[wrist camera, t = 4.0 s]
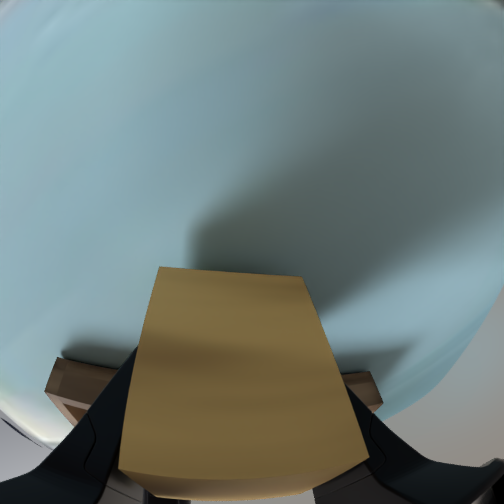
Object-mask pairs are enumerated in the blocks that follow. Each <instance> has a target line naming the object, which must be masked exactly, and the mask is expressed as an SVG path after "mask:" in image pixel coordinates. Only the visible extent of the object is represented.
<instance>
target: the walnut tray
mask: <svg viewBox="0 0 504 504" xmlns="http://www.w3.org/2000/svg"><path fill="white" fill-rule="evenodd" d="M117 371H118V370H115V369H109V368H104V367H99V366H94V365H89V364H84V363H80V362H75V361H71V360H67V359H63V358H59V357H57V359H56V361H55V364H54V366H53V369H52V371H51V374H50V377H49V380H48V382H47V385H46V388H45V391H44V392H45V393H46V394H47V396H48V397H49V398H50V400H51V401H52V402H53V403H54V404H55V406H56V407H57V408H58V409H59V410H60V412H61V413H62V414H63V415H64V416H65V417H66V418H67V419H68V421H69V422H70V423H71V424H72V425H73V426H74V427H75V426H76V425H77V423H78V422H79V421H80V419H81V418H82V417H83V415H84V414H85V413H87V410H88V409H89V407H90V406H91V405H92V404H93V402H94V401H95V400H96V398H97V397H98V396H99V394H100V393H101V392H102V390H103V389H104V388H105V386H106V385H107V384H108V383H109V381H110V380H111V379H112V377H113V376H114V375H115V374H116V372H117ZM341 377H342V380H343V382H344V383H345V384H346V385H347V386H348V387H349V388H350V389H351V390H352V391H353V392H354V393H355V394H356V395H357V396H358V397H359V398H360V400H361V401H362V402H363V403H364V404H365V405H366V406H367V407H368V408H369V409H370V410H371V411H372V413H374V412H375V411H376V410H377V409H378V408H379V407H380V406H381V405H382V404H383V400H382V398H381V396H380V393H379V391H378V389H377V386H376V384H375V382H374V379H373V377H372V375H371V373H370V371H367V372H361V373H353V374H346V375H341Z"/></svg>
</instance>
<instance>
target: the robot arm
mask: <svg viewBox="0 0 504 504" xmlns="http://www.w3.org/2000/svg"><path fill="white" fill-rule="evenodd" d="M138 345H139V344H138ZM137 349H138V346H137V347H136V348H135V349H134V351H133V352H132V353H131V354H130V356H129V357H128V358H127V360H126V361H125V362H124V363H123V365H122V366H121V367H120V368H119V370H118V371H117V372H116V374H115V375H114V376H113V377H112V379H111V380H110V381H109V383H108V384H107V385H106V386H105V388H104V389H103V390H102V392H101V393H100V394H99V396H98V397H97V398H96V400H95V401H94V402H93V404H92V405H91V406H90V407H89V409H88V410H87V413H85V414H84V415H83V417H82V418H81V419H80V421H79V422H78V423H77V425H76V426H75V427H74V428H73V430H72V431H71V432H70V433H69V434H68V435H67V436H66V438H65V439H64V440H63V441H62V442H61V443H60V444H59V445H58V446H57V447H56V448H55V449H54V450H53V451H52V452H51V453H50V454H49V456H47V457H46V458H45V459H44V461H43V462H42V463H41V464H40V465H39V466H37V467H36V468H35V469H33V470H32V471H30V472H28V473H26V474H24V475H21V476H18V477H15V478H12V479H9V480H6V481H3V482H0V504H191V500H182V499H171V498H162V497H156V496H155V495H153V494H152V493H150V492H149V491H147V490H146V489H144V488H143V487H141V486H140V485H139V484H137V483H136V482H135V481H133V480H132V479H131V478H129V477H128V476H127V475H125V474H124V473H123V472H122V471H120V470H119V469H118V466H119V456H120V447H121V439H122V431H123V424H124V418H125V411H126V405H127V399H128V394H129V388H130V383H131V378H132V373H133V368H134V363H135V359H136V354H137ZM344 385H345V388H346V391H347V393H348V396H349V399H350V402H351V404H352V407H353V410H354V413H355V416H356V419H357V422H358V425H359V427H360V430H361V433H362V436H363V439H364V442H365V445H366V448H367V451H368V454H369V458H367V459H366V460H364V461H362V462H361V463H359V464H357V465H356V466H354V467H352V468H351V469H349V470H347V471H345V472H344V473H342V474H340V475H338V476H336V477H334V478H332V479H331V480H329V481H327V482H325V483H323V484H321V485H318V486H316V487H314V488H312V489H313V494H314V498H315V503H316V504H504V459H499V458H494V459H492V460H490V461H488V462H487V463H485V464H483V465H482V466H480V467H470V466H461V465H454V464H447V463H442V462H436V461H433V460H430V459H428V458H426V457H424V456H422V455H421V454H420V453H418V452H417V451H416V450H414V449H413V448H412V447H411V446H409V445H408V444H407V443H406V442H404V441H403V440H402V439H401V438H399V437H398V436H397V435H396V434H395V433H394V432H392V431H391V430H390V429H389V428H388V427H387V426H386V425H385V424H384V423H383V422H382V421H381V420H380V419H379V418H378V417H377V416H376V415H375V414H374V413H372V411H371V410H370V409H369V408H368V407H367V406H366V405H365V404H364V403H363V402H362V401H361V400H360V398H359V397H358V396H357V395H356V394H355V393H354V392H353V391H352V390H351V389H350V388H349V387H348V386H347V385H346V384H345V383H344Z"/></svg>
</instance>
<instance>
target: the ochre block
mask: <svg viewBox="0 0 504 504" xmlns="http://www.w3.org/2000/svg"><path fill="white" fill-rule="evenodd" d="M367 458H369V454H368V451H367V448H366V445H365V442H364V439H363V436H362V433H361V430H360V427H359V425H358V422H357V419H356V416H355V413H354V410H353V407H352V404H351V402H350V399H349V396H348V393H347V391H346V388H345V385H344V382H343V380H342V377H341V374H340V372H339V369H338V366H337V364H336V361H335V358H334V356H333V353H332V350H331V348H330V345H329V343H328V340H327V337H326V335H325V332H324V330H323V327H322V325H321V322H320V320H319V317H318V315H317V312H316V310H315V307H314V305H313V302H312V300H311V297H310V295H309V293H308V290H307V288H306V285H305V283H304V280H303V278H302V277H299V276H282V275H266V274H250V273H236V272H222V271H208V270H196V269H183V268H171V267H159V270H158V273H157V277H156V280H155V283H154V287H153V290H152V294H151V298H150V301H149V305H148V309H147V313H146V316H145V320H144V324H143V328H142V332H141V337H140V341H139V345H138V349H137V354H136V359H135V363H134V368H133V373H132V378H131V383H130V388H129V394H128V399H127V405H126V411H125V418H124V424H123V431H122V439H121V447H120V456H119V466H118V469H119V470H120V471H122V472H123V473H124V474H125V475H127V476H128V477H129V478H131V479H132V480H133V481H135V482H136V483H137V484H139V485H140V486H141V487H143V488H144V489H146V490H147V491H149V492H150V493H152V494H153V495H155V496H156V497H162V498H171V499H182V500H201V501H237V500H255V499H266V498H275V497H283V496H290V495H296V494H301V493H303V492H305V491H308V490H310V489H312V488H314V487H316V486H318V485H321V484H323V483H325V482H327V481H329V480H331V479H332V478H334V477H336V476H338V475H340V474H342V473H344V472H345V471H347V470H349V469H351V468H352V467H354V466H356V465H357V464H359V463H361V462H362V461H364V460H366V459H367Z"/></svg>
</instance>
